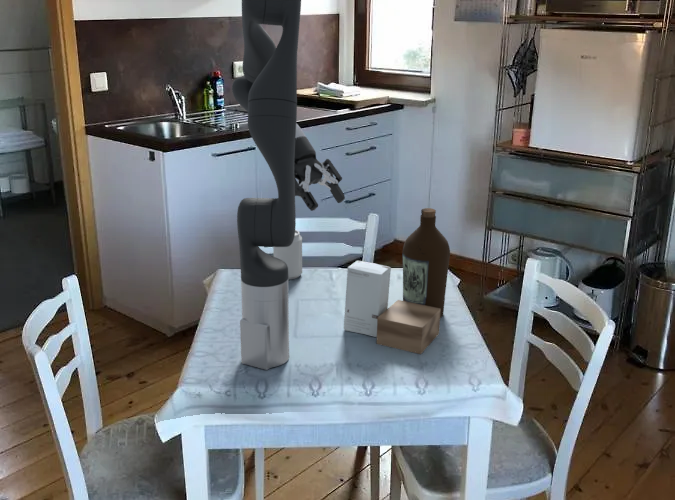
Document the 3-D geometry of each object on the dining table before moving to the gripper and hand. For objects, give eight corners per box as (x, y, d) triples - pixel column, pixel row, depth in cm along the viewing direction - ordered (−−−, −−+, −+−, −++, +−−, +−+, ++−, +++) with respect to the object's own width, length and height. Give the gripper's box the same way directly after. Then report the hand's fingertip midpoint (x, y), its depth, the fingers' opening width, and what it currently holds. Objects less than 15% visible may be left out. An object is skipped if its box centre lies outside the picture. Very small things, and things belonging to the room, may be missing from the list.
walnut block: (420, 354, 151) (422, 327, 149) (376, 343, 155) (377, 317, 153) (439, 333, 160) (440, 308, 158) (396, 324, 165) (397, 299, 163)
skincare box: (343, 330, 161) (344, 267, 156) (354, 320, 166) (355, 258, 162) (379, 338, 158) (381, 273, 153) (388, 327, 163) (391, 264, 158)
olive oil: (419, 300, 178) (424, 200, 169) (455, 313, 171) (462, 210, 162) (390, 313, 170) (394, 209, 162) (427, 327, 163) (433, 219, 155)
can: (304, 271, 196) (304, 228, 192) (300, 281, 189) (299, 237, 185) (276, 269, 197) (275, 227, 193) (271, 279, 190) (270, 235, 186)
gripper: (276, 139, 157) (314, 202, 153) (322, 131, 167) (359, 189, 163) (260, 160, 162) (297, 220, 159) (305, 150, 172) (341, 207, 168)
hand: (328, 204), depth 161 cm, fingers open, 8 cm apart
